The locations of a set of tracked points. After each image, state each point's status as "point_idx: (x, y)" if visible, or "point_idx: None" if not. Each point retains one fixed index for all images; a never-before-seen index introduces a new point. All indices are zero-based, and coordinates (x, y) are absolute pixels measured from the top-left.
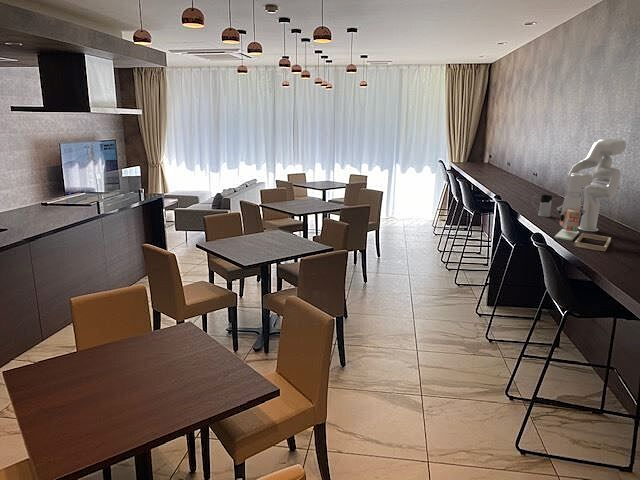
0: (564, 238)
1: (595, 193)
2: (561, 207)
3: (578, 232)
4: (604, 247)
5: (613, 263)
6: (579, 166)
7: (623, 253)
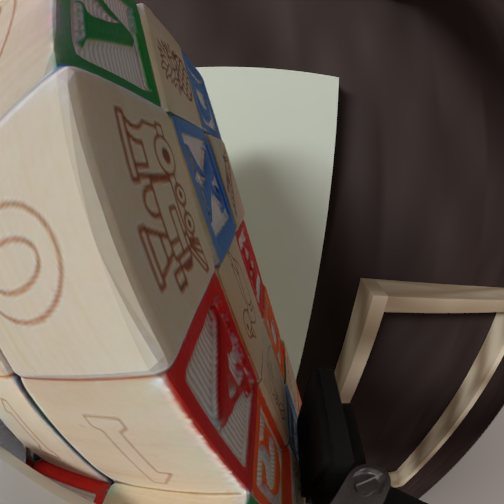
0: None
1: None
2: None
3: (335, 125)
4: (398, 485)
5: None
6: None
7: (453, 450)
